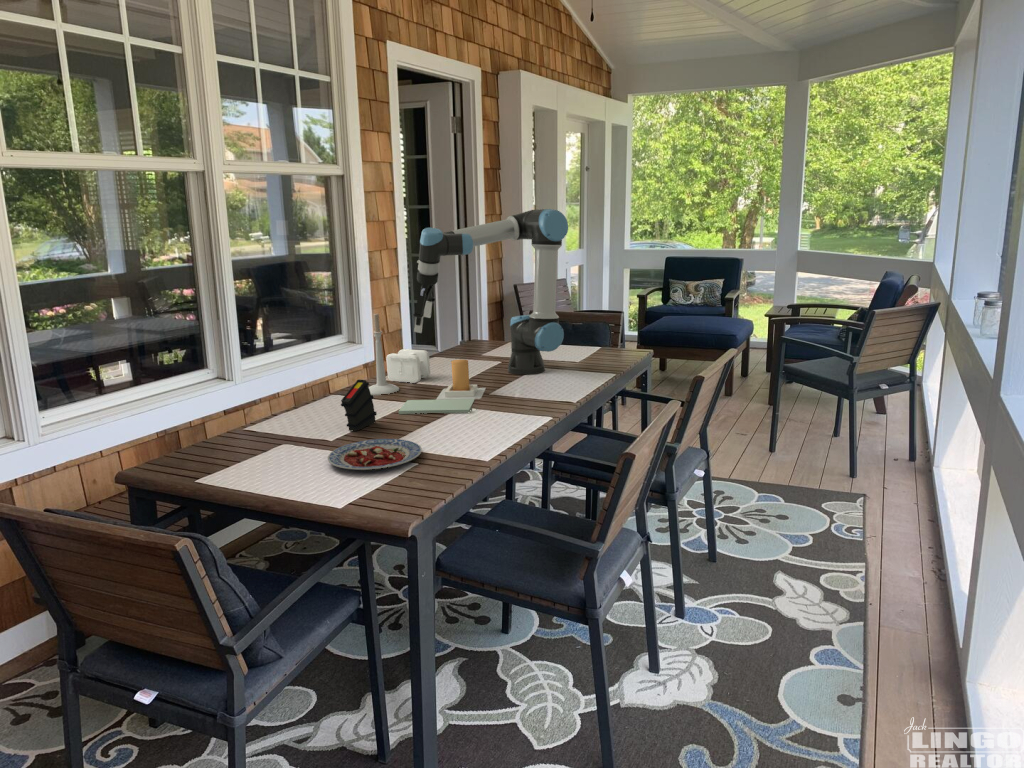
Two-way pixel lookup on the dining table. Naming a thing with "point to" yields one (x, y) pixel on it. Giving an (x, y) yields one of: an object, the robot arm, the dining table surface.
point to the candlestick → (380, 365)
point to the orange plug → (460, 375)
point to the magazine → (359, 406)
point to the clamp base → (461, 393)
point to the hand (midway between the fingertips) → (422, 324)
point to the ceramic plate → (374, 454)
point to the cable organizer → (408, 365)
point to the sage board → (437, 406)
